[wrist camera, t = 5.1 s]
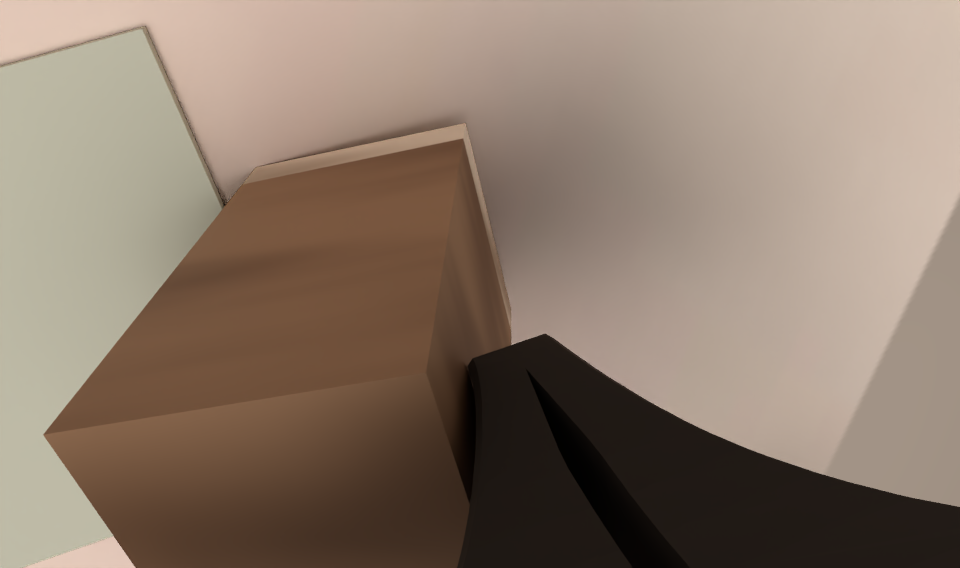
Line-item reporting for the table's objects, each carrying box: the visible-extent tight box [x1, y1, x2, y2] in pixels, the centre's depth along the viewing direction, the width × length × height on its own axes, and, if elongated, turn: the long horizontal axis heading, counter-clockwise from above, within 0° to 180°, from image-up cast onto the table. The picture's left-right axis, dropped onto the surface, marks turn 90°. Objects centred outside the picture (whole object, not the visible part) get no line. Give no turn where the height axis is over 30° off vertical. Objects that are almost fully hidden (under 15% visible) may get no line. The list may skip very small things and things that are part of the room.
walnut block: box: [43, 123, 511, 568], centre depth 14 cm, size 5×5×9 cm
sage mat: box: [0, 26, 225, 568], centre depth 17 cm, size 12×10×1 cm
